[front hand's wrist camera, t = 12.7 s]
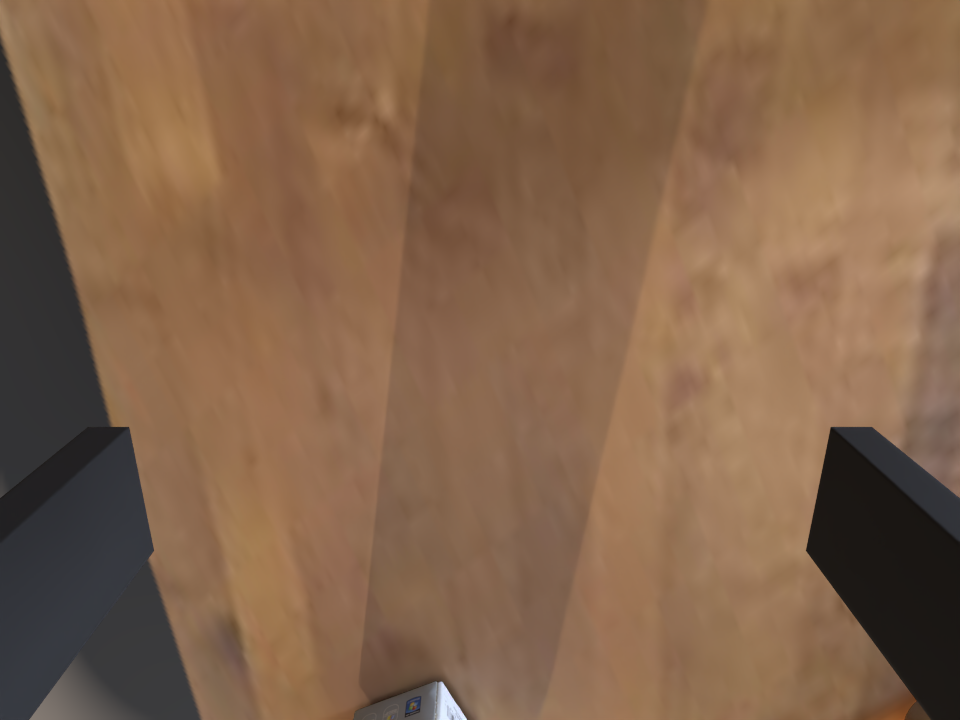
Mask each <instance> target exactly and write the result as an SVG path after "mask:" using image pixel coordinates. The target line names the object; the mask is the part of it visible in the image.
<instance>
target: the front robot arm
mask: <svg viewBox="0 0 960 720" xmlns="http://www.w3.org/2000/svg"><path fill="white" fill-rule="evenodd" d="M153 551H154V548H153V543H152V538H151V534H150V529H149V524H148V519H147V514H146V509H145V504H144V499H143V494H142V489H141V484H140V479H139V474H138V469H137V464H136V459H135V454H134V449H133V444H132V439H131V434H130V429H129V427H88V428H86V429H85V430H84V431H83V432H81V433H80V434H79V435H78V436H77V437H75V438H74V439H73V440H72V441H70V442H69V443H68V444H67V445H65V446H64V447H63V448H62V449H60V450H59V451H58V452H57V453H56V454H54V455H53V456H52V457H51V458H49V459H48V460H47V461H46V462H44V463H43V464H42V465H41V466H40V467H38V468H37V469H36V470H35V471H33V472H32V473H31V474H30V475H28V476H27V477H26V478H25V479H23V480H22V481H21V482H20V483H19V484H17V485H16V486H15V487H14V488H12V489H11V490H10V491H9V492H7V493H6V494H5V495H4V496H2V497H1V498H0V720H29V719H30V718H31V716H32V715H33V714H34V712H35V711H36V710H37V708H38V707H39V706H40V704H41V703H42V701H43V700H44V699H45V697H46V696H47V695H48V693H49V692H50V691H51V689H52V688H53V687H54V685H55V684H56V683H57V681H58V680H59V679H60V677H61V676H62V674H63V673H64V672H65V670H66V669H67V668H68V666H69V665H70V664H71V662H72V661H73V660H74V658H75V657H76V656H77V654H78V653H79V651H80V650H81V649H82V647H83V646H84V645H85V643H86V642H87V641H88V639H89V638H90V637H91V635H92V634H93V632H94V631H95V630H96V628H97V627H98V626H99V624H100V623H101V622H102V620H103V619H104V618H105V616H106V615H107V614H108V612H109V611H110V610H111V608H112V607H113V605H114V604H115V603H116V601H117V600H118V599H119V597H120V596H121V595H122V593H123V592H124V591H125V589H126V588H127V587H128V585H129V584H130V582H131V581H132V580H133V578H134V577H135V576H136V574H137V573H138V572H139V570H140V569H141V568H142V566H143V565H144V563H145V562H146V561H147V559H148V558H149V557H150V555H151V554H152V553H153ZM806 551H807V553H808V554H809V555H810V557H811V558H812V559H813V561H814V562H815V564H816V565H817V566H818V568H819V569H820V570H821V572H822V573H823V574H824V576H825V577H826V578H827V580H828V581H829V582H830V584H831V585H832V587H833V588H834V589H835V591H836V592H837V593H838V595H839V596H840V597H841V599H842V600H843V601H844V603H845V604H846V605H847V607H848V608H849V610H850V611H851V612H852V614H853V615H854V616H855V618H856V619H857V620H858V622H859V623H860V624H861V626H862V627H863V628H864V630H865V631H866V633H867V634H868V635H869V637H870V638H871V639H872V641H873V642H874V643H875V645H876V646H877V647H878V649H879V650H880V651H881V653H882V654H883V656H884V657H885V658H886V660H887V661H888V662H889V664H890V665H891V666H892V668H893V669H894V670H895V672H896V673H897V674H898V676H899V677H900V679H901V680H902V681H903V683H904V684H905V685H906V687H907V688H908V689H909V691H910V692H911V693H912V695H913V696H914V697H915V699H916V700H917V702H918V703H919V704H920V706H921V707H922V708H923V710H924V711H925V712H926V714H927V715H928V716H929V718H930V719H931V720H960V498H959V497H958V496H956V495H955V494H954V493H953V492H951V491H950V490H949V489H948V488H946V487H945V486H944V485H943V484H941V483H940V482H939V481H938V480H937V479H935V478H934V477H933V476H932V475H930V474H929V473H928V472H927V471H925V470H924V469H923V468H922V467H921V466H919V465H918V464H917V463H916V462H914V461H913V460H912V459H911V458H909V457H908V456H907V455H906V454H904V453H903V452H902V451H901V450H900V449H898V448H897V447H896V446H895V445H893V444H892V443H891V442H890V441H888V440H887V439H886V438H885V437H883V436H882V435H881V434H880V433H879V432H877V431H876V430H875V429H874V428H872V427H831V429H830V434H829V439H828V444H827V449H826V454H825V459H824V464H823V469H822V474H821V479H820V484H819V489H818V494H817V499H816V504H815V509H814V514H813V519H812V524H811V529H810V534H809V538H808V543H807V548H806Z"/></svg>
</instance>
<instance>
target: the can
mask: <svg viewBox="0 0 960 720" xmlns="http://www.w3.org/2000/svg"><path fill="white" fill-rule="evenodd" d="M905 720H931V719H930V718H929V716H928V715H927V714H926V712H925V711H924V710H923V708H922V707H921V706H920V704H919V703H918V702H917V701H916V702H915V703H914V704H913V706H912V707H911V708H910V709H909V711H908V713H907V715H906V717H905Z"/></svg>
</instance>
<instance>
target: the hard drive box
mask: <svg viewBox="0 0 960 720" xmlns="http://www.w3.org/2000/svg"><path fill="white" fill-rule="evenodd" d="M353 720H467V719H466V717H465V716H464V714H463V713H462V711H461V709H460V708H459V706H458V705H457V704H456V702H455V701H454V699H453V698H452V696H451V695H450V693H449V691H448V690H447V688H446V687H445V685H444V684H443V682H439V683H438V682H436V681H435V682H432V683H430V684H427V685H424V686H421V687H419V688H416V689H413V690H411V691H408V692H405V693H402V694H400V695H397V696H394V697H392V698H389V699H386V700H384V701H381V702H378V703H375V704H373V705H370V706H367V707H365V708H362V709H359V710H357V711H355V713H354V719H353Z"/></svg>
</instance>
